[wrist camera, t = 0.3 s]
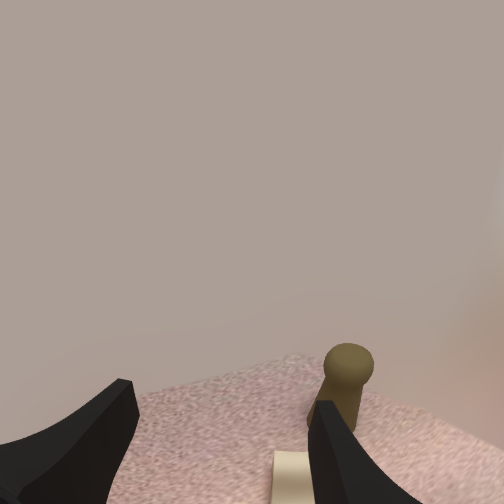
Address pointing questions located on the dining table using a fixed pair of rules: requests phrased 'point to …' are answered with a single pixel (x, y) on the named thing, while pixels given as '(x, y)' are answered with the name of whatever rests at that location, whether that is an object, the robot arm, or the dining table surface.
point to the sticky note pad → (291, 479)
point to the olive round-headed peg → (345, 380)
